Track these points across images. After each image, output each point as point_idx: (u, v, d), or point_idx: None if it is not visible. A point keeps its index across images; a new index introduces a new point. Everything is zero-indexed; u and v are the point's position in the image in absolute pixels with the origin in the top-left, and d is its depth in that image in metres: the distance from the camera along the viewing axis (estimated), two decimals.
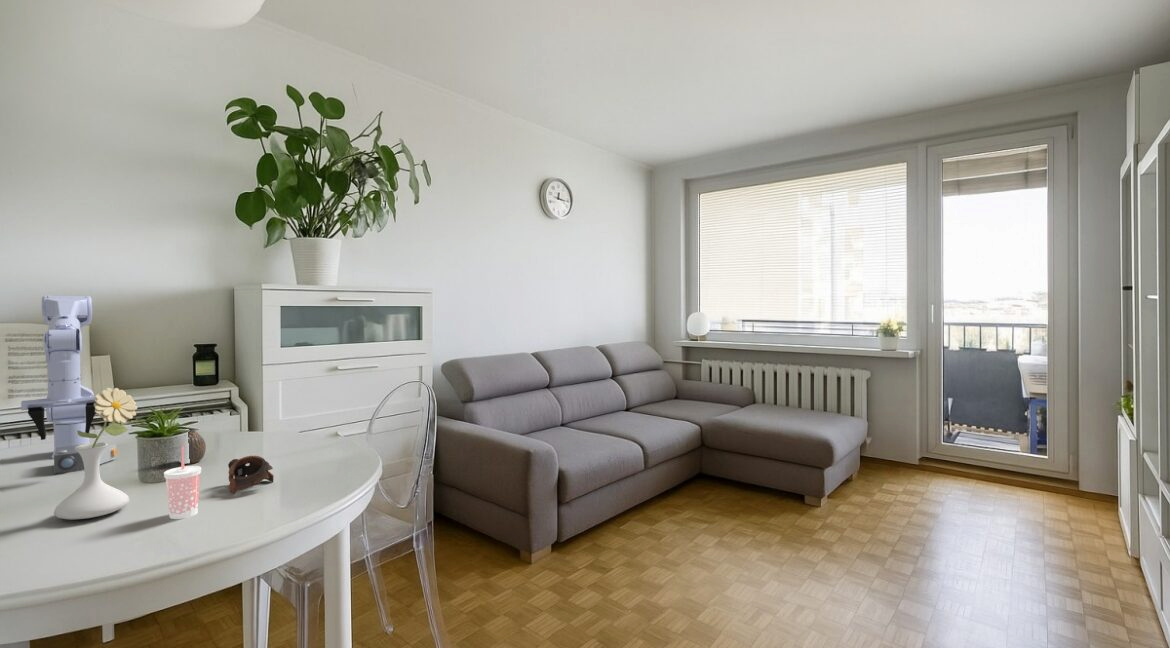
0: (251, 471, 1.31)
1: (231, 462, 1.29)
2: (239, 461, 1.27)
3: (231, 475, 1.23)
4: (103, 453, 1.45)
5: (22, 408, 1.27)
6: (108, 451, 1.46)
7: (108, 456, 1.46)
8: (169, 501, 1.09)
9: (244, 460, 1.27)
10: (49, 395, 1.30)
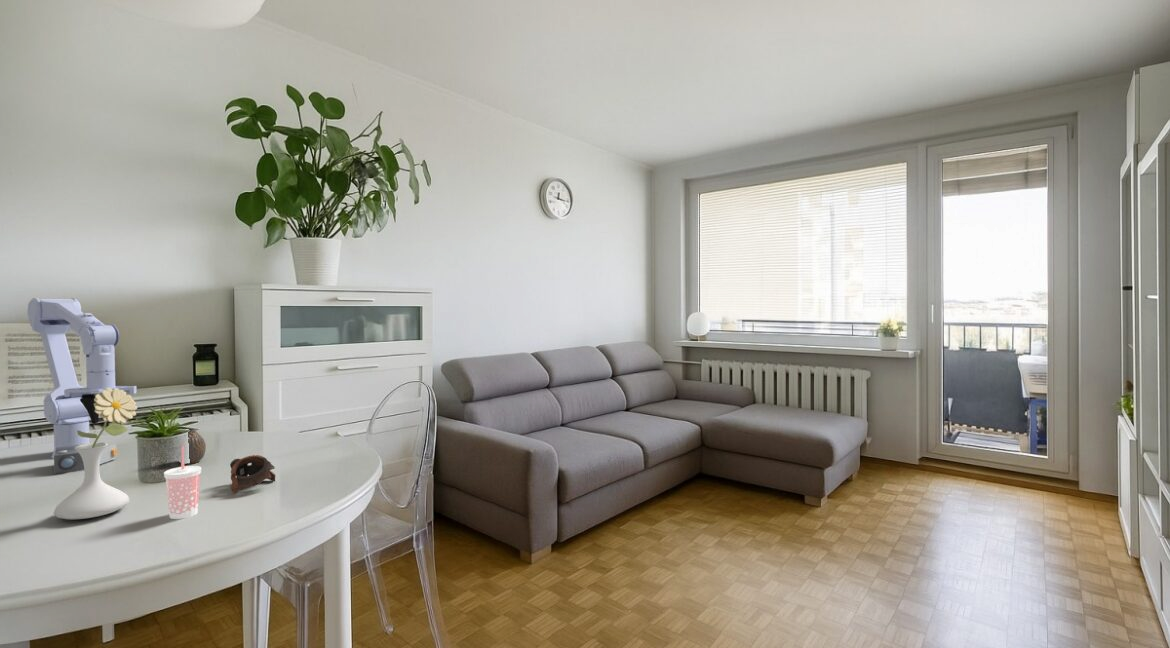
0: (253, 471, 1.31)
1: (233, 462, 1.29)
2: (241, 461, 1.27)
3: (233, 475, 1.24)
4: (103, 453, 1.45)
5: (65, 395, 1.43)
6: (108, 451, 1.46)
7: (108, 456, 1.46)
8: (169, 501, 1.09)
9: (246, 460, 1.28)
10: None
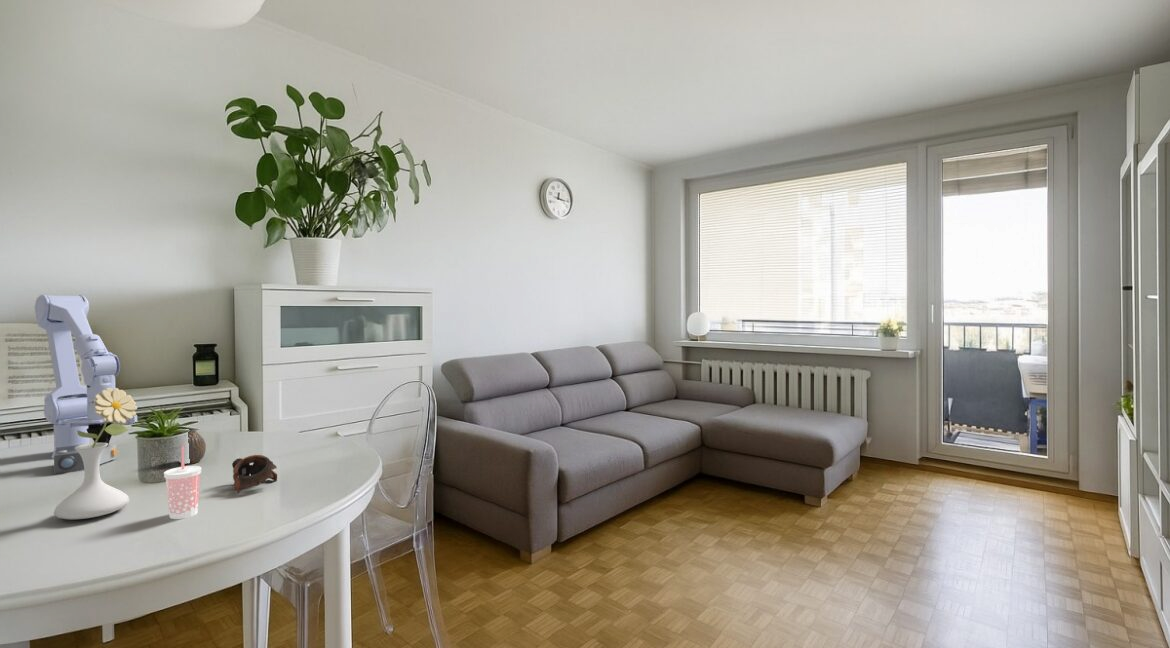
0: (255, 470, 1.32)
1: (235, 461, 1.29)
2: (243, 460, 1.27)
3: (236, 474, 1.24)
4: (103, 453, 1.45)
5: (66, 426, 1.43)
6: (108, 451, 1.46)
7: (108, 456, 1.46)
8: (169, 501, 1.09)
9: (248, 459, 1.28)
10: (87, 415, 1.45)
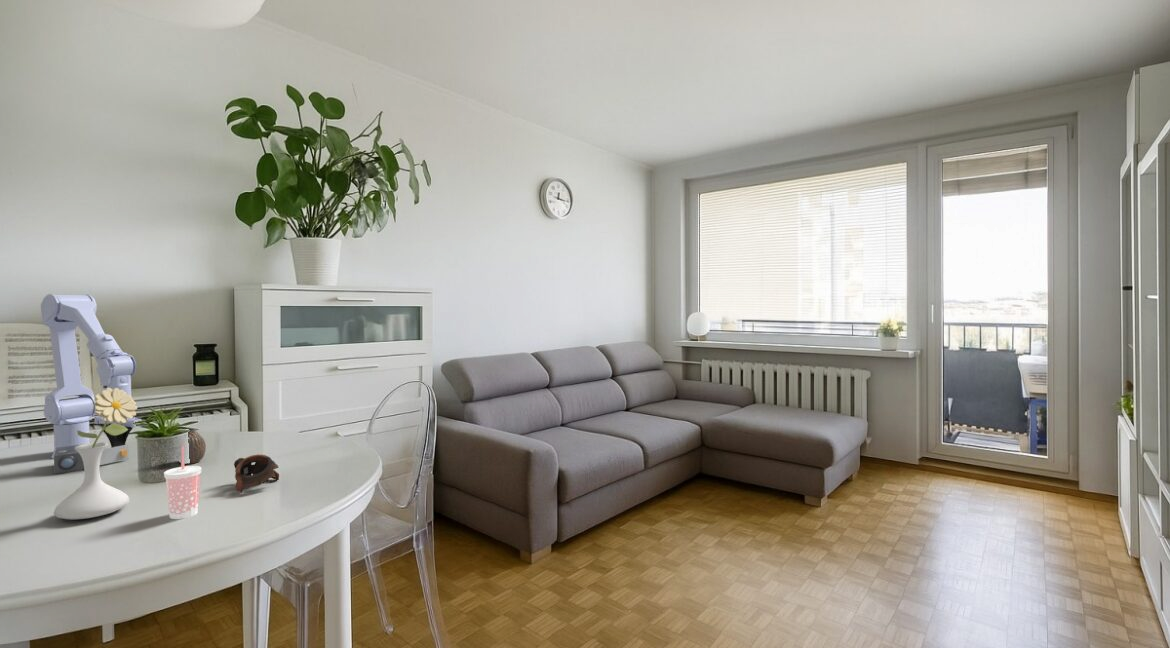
0: (257, 470, 1.32)
1: (237, 461, 1.30)
2: (245, 460, 1.28)
3: (238, 474, 1.24)
4: (108, 453, 1.44)
5: None
6: (115, 452, 1.46)
7: (115, 457, 1.46)
8: (169, 501, 1.09)
9: (250, 459, 1.28)
10: None
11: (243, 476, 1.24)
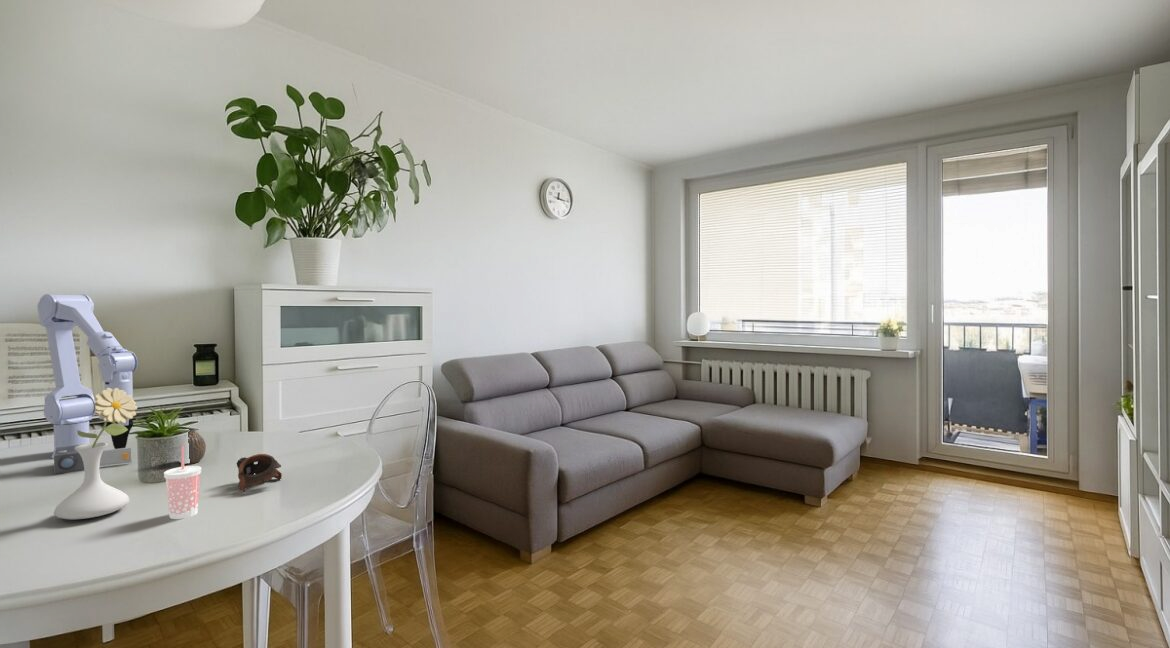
0: (259, 469, 1.32)
1: (240, 460, 1.30)
2: (248, 459, 1.28)
3: (241, 473, 1.25)
4: (108, 455, 1.43)
5: None
6: (117, 454, 1.44)
7: (117, 459, 1.44)
8: (169, 501, 1.09)
9: (253, 458, 1.29)
10: None
11: (246, 475, 1.24)
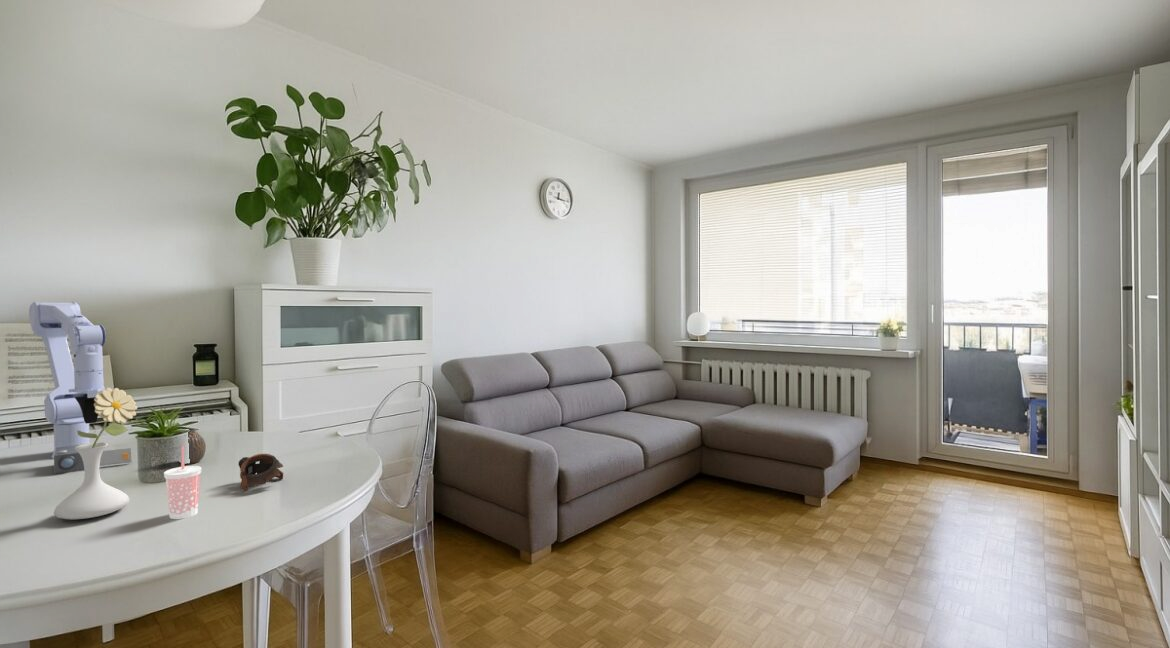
0: (261, 469, 1.33)
1: (241, 460, 1.30)
2: (250, 459, 1.28)
3: (243, 473, 1.25)
4: (108, 455, 1.43)
5: None
6: (117, 454, 1.44)
7: (117, 459, 1.44)
8: (169, 501, 1.09)
9: (255, 458, 1.29)
10: None
11: (248, 475, 1.24)
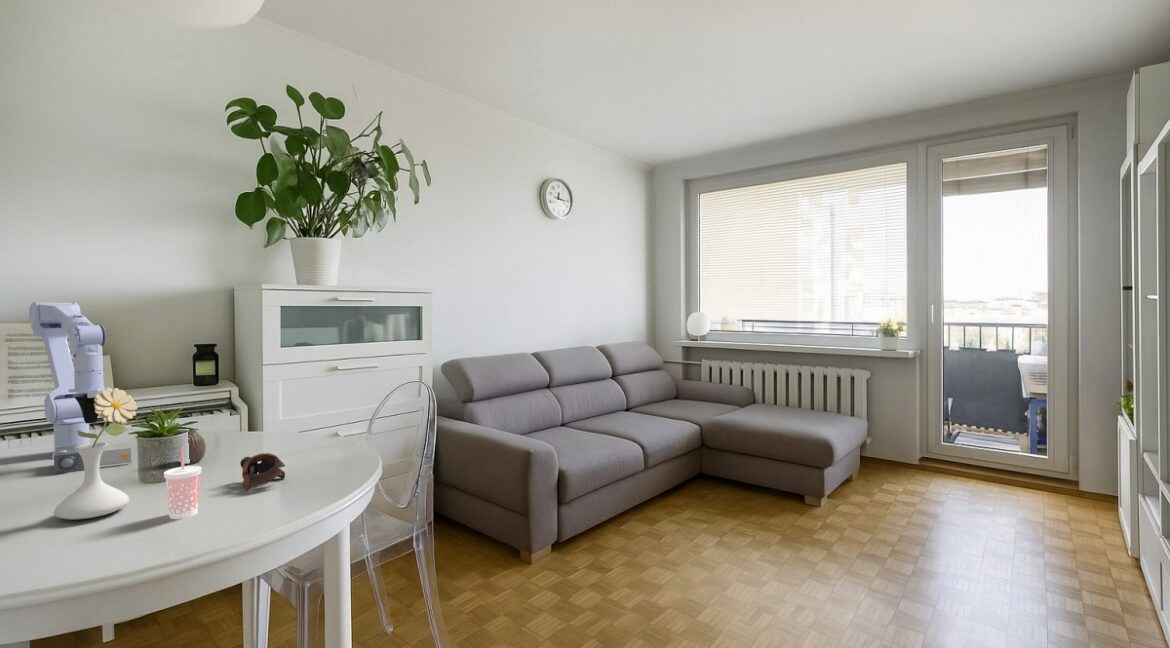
0: (263, 468, 1.33)
1: (243, 460, 1.31)
2: (252, 459, 1.29)
3: (245, 472, 1.25)
4: (108, 455, 1.43)
5: None
6: (117, 454, 1.44)
7: (117, 459, 1.44)
8: (169, 501, 1.09)
9: (257, 458, 1.29)
10: None
11: (250, 474, 1.25)
